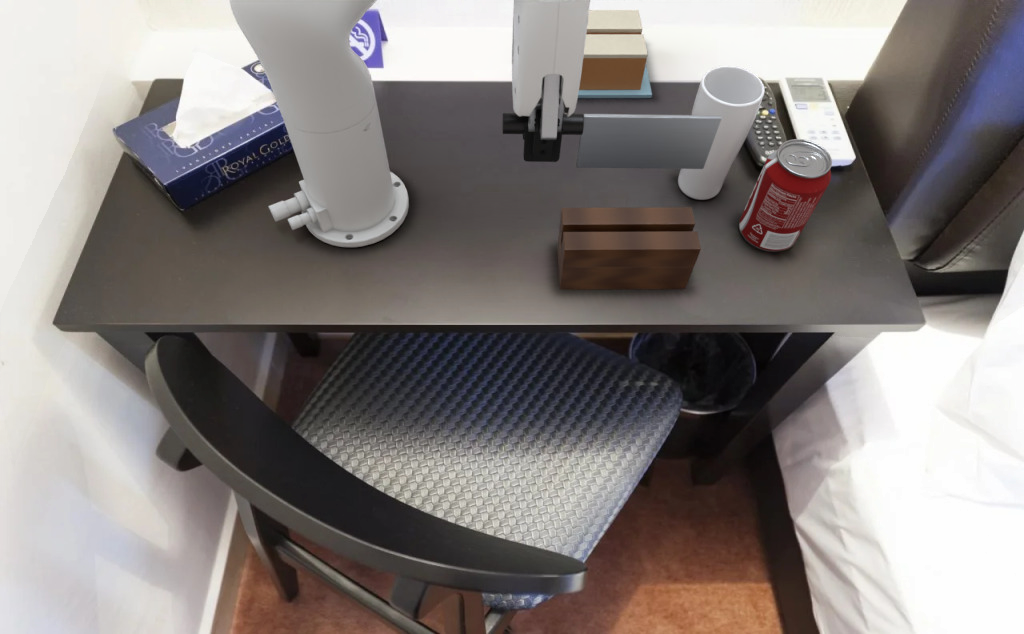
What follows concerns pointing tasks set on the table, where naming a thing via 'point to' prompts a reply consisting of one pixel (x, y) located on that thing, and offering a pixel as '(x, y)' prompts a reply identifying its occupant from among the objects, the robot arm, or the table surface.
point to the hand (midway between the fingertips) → (540, 148)
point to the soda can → (785, 195)
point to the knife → (634, 139)
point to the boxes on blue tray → (614, 56)
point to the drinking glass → (723, 125)
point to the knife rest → (626, 248)
